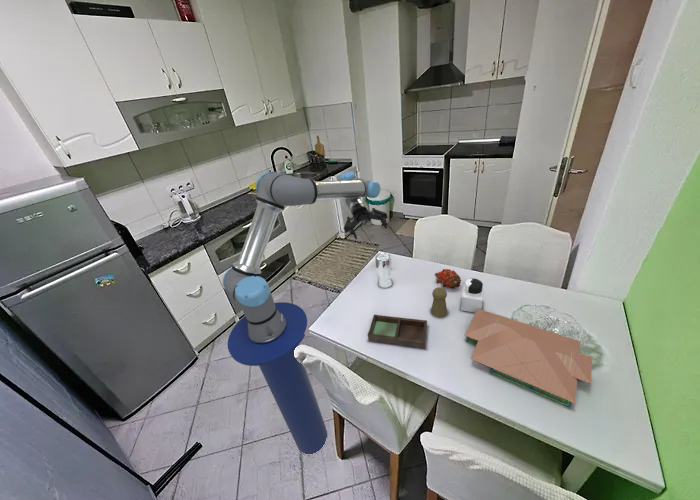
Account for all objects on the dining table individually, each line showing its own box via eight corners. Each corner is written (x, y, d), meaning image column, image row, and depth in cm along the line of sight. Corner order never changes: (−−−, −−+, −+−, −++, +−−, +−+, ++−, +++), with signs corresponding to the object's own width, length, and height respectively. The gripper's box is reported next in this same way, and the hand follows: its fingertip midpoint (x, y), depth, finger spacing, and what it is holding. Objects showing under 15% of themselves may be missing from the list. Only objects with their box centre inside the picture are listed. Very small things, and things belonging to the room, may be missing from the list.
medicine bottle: (481, 301, 110) (485, 277, 103) (480, 314, 104) (484, 289, 98) (462, 298, 113) (464, 275, 106) (460, 310, 107) (462, 286, 101)
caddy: (368, 341, 101) (367, 335, 99) (374, 320, 109) (374, 314, 107) (425, 349, 94) (425, 343, 93) (427, 326, 103) (427, 320, 101)
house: (585, 416, 71) (595, 397, 66) (455, 359, 90) (456, 342, 85) (588, 352, 85) (597, 333, 81) (476, 314, 104) (478, 298, 100)
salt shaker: (448, 308, 109) (450, 287, 103) (444, 319, 104) (446, 297, 99) (433, 305, 112) (433, 283, 106) (428, 314, 107) (429, 293, 102)
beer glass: (385, 277, 132) (382, 250, 124) (396, 283, 127) (394, 255, 119) (374, 284, 128) (371, 257, 121) (385, 290, 123) (383, 262, 116)
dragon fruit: (460, 295, 117) (436, 287, 126) (468, 277, 118) (443, 271, 127) (453, 287, 111) (427, 280, 120) (461, 269, 113) (435, 263, 122)
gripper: (384, 208, 136) (399, 228, 119) (336, 225, 136) (345, 248, 118) (381, 194, 132) (397, 213, 115) (332, 212, 131) (340, 233, 114)
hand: (370, 231), depth 116 cm, fingers open, 13 cm apart
